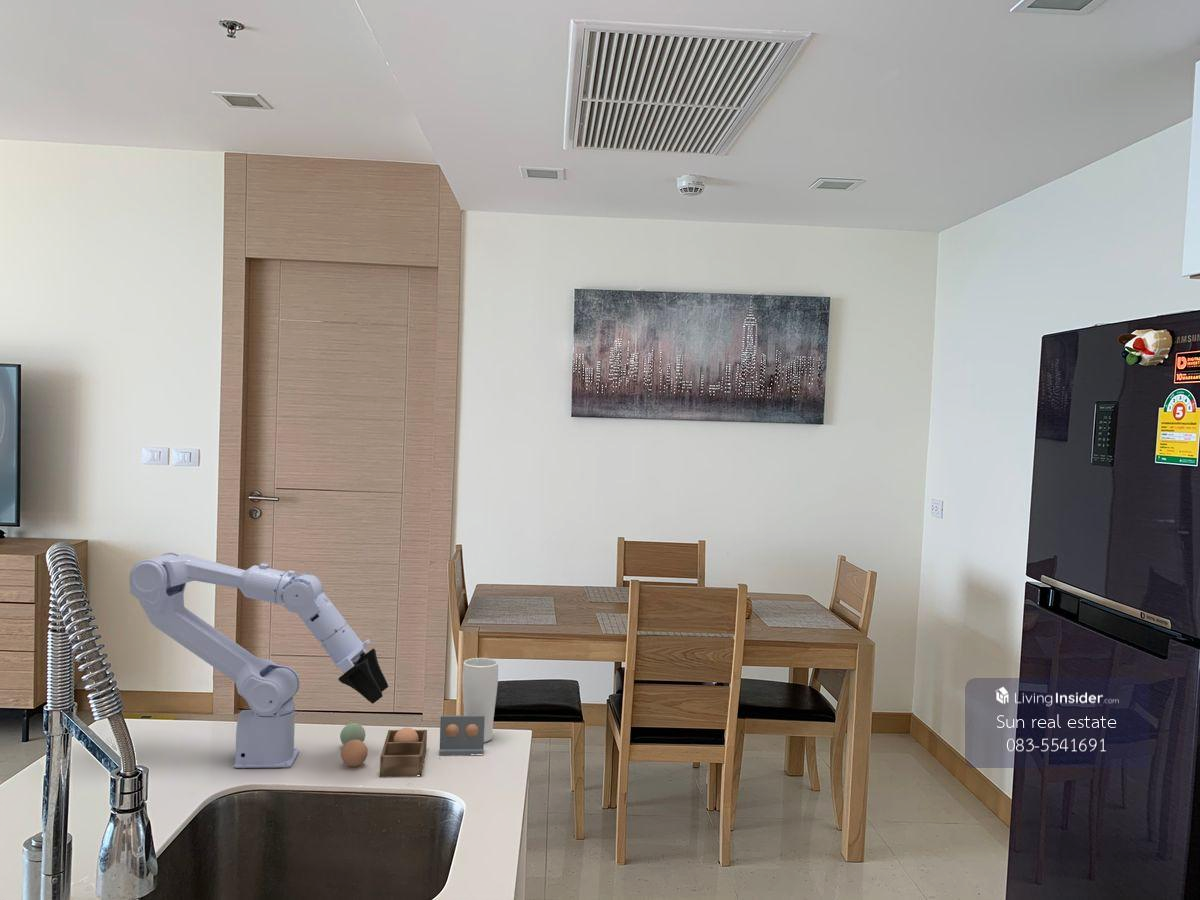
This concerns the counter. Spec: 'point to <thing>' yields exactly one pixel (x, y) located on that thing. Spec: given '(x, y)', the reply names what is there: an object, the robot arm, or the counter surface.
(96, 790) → the counter surface
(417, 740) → the terracotta ball
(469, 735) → the card
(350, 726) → the sage ball
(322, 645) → the robot arm
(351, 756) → the terracotta ball
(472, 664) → the white tall tapered cylinder
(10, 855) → the counter surface
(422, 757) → the pair tray
